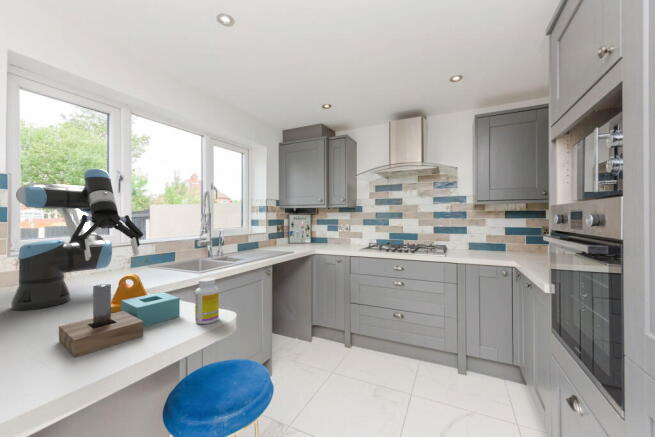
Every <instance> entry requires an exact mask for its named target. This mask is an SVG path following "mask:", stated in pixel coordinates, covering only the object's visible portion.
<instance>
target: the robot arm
mask: <svg viewBox="0 0 655 437" xmlns="http://www.w3.org/2000/svg"><path fill="white" fill-rule="evenodd" d="M83 180H84V182H85V183H84V185H82V186H81V185H79V184H78V185H77V184H76V185H70V184H57V183H40V182H39V183H30V184H25V185H23V186H20V187H19V188H17V190H16V191H15V192H16V193H15V197H16V200H17V201H18V202H19V203H20V204H21V205H24V206H25V207H26V208H34V209H49V210H50V209H51V210H57V212H58V213H59V214H61V215H62V216H63V219H64V222H65V225H66V229H67V231H68V235H69V238H70V239H69V241H68V242H65V240H64V239H53V240H52V239H51V240H43V241H36V242H29V243H25V244H24V245H21V246H20V247H19V250H18V258H17V259H18V287H17V289H16V292H15V294H14V295H13V298H12V300H11V304H10V306H11V310H13V311H27V310H29V311H30V310H38V309H44V308H50V307H53V306H58V305H62V304H64V303H68V302H69V301H70V300H71V291H70V290H69V288H68V286H67V283H66V281H65V274H67V273H75V272H76V273H77V272H82V271H83V272H84V271H92V270H94V271H95V270H100V269H104V268H108V267H110V264H111V261H112V258H113V243H112V241H110V240H107V239H105V240H104V238H103V237H102V236H101V235H100V234H98V233H97V232H96V230H97V229H99V228H101V229H113V228H114V229H115V230H117V231H119V232H121V233H122V234H124V235H125V236H126V237H128V238H129V239H131V240H130V245H131V249H132V253H133V257H138V255H139V254H140V252H139V248H140V244H141V243H140V239H142V237H144V233H143V231H141V230H140V229H139V228H138V227H137V225H135V223H134V222H133V221H132V220H131V218H130V215H128V214H127V215H125V216H120V215H119V211H118V207H117V203H116V199H115V195H114V194H115V193H114V189H113V185H112V184H113V183H112V179H111V177H110V174H109V172H108V171H106V169H103V168H90V169H88V170H86V171H85V172H84V178H83ZM90 215H91V216H90ZM123 223H124V224H123Z"/></svg>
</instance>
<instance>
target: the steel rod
mask: <svg viewBox="0 0 655 437" xmlns="http://www.w3.org/2000/svg"><path fill="white" fill-rule="evenodd" d="M92 294H93V295H92V301H93V302H92V312H93V313H92V318H93V329H94V328H98V327H102V326H106V325H110V324H111V314H112V313H111V301H112V284H110V283H103V284H97V285H94V286H93V287H92Z"/></svg>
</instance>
